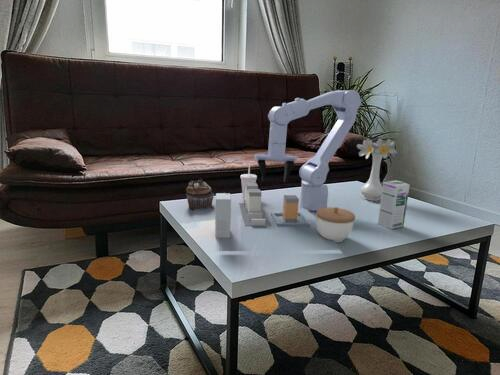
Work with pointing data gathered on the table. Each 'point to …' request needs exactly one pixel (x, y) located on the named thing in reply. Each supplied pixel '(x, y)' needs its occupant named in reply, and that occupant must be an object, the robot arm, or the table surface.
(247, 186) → the block
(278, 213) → the tray
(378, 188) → the flower vase
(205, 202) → the cupcake
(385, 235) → the table surface
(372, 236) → the table surface
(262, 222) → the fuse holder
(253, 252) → the table surface
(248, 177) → the smoothie
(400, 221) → the syrup box
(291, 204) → the block
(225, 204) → the skincare box
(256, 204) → the block
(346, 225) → the lidded jar
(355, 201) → the table surface
